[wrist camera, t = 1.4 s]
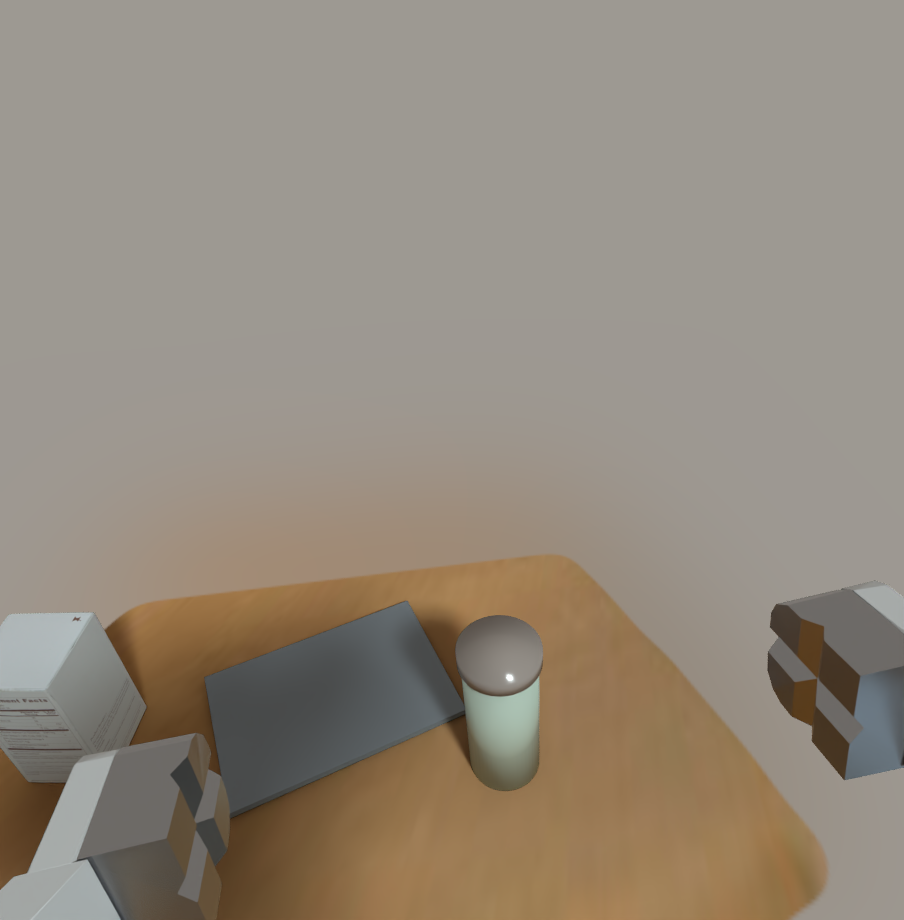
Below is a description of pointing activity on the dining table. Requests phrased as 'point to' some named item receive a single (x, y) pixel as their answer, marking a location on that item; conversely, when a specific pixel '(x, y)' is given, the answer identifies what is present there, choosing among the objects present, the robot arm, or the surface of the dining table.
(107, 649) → the supplement box
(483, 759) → the ceramic jar
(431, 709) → the cutting board
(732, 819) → the dining table surface
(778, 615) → the robot arm
